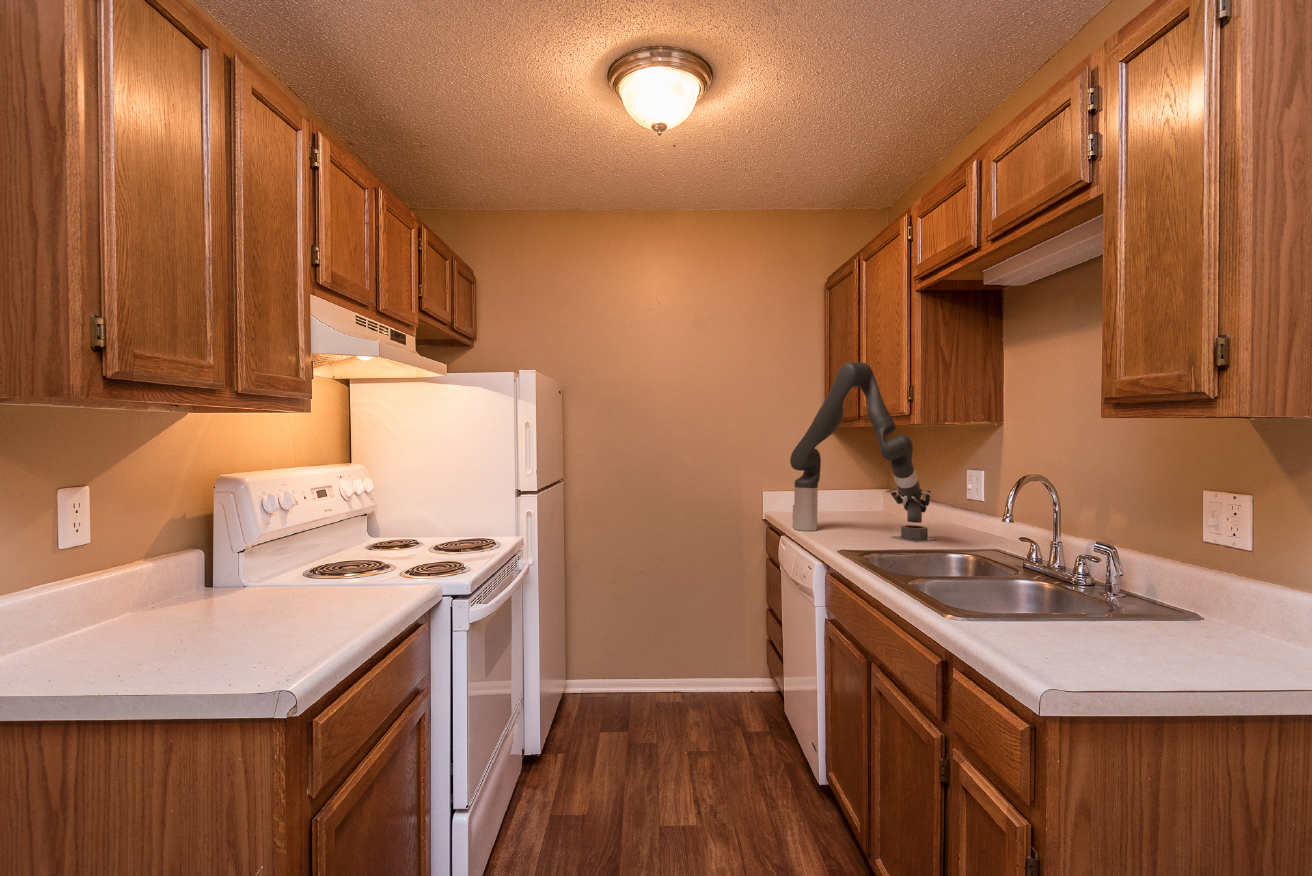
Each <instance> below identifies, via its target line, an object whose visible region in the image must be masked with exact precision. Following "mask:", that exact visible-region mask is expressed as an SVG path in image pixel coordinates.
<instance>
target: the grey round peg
mask: <svg viewBox="0 0 1312 876" xmlns="http://www.w3.org/2000/svg"><path fill="white" fill-rule="evenodd" d="M906 512H907V513H906V515H907V517H906V518H907V520H906V521H907V522H908V523H917V524H918V523H920V524H921V523H923V513H922V510H921V507H920V505H919V504H918V503H916V501H915V500H907V510H906Z"/></svg>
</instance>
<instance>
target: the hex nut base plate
mask: <svg viewBox="0 0 1312 876" xmlns="http://www.w3.org/2000/svg"><path fill="white" fill-rule="evenodd" d="M928 535H929V534H928V526H923V525H916V524H914V525H913V524H912V525H911V524H906V525H905V524H904V525H900V535H894V536H893V535H891V538H892V539H897V540H902V541H907V542H913V543H923V542H925V543H926V542H937V540H938V539H937V538H933V537H928Z"/></svg>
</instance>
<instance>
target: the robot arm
mask: <svg viewBox="0 0 1312 876" xmlns="http://www.w3.org/2000/svg"><path fill="white" fill-rule="evenodd" d="M853 388H860V390H861V392H862V393H863V395H864V396H865V400H866V412H867V417H868V420H869V422H870V424H871V426H872V428H873V430H874V431H875V435H876V437H877V439H878V443H879V445H878V446H879V449H880V454H881V456H882V458H883V459H884V460H886V461H888V462H890V467H891V470H892V473H893V478H894V482H895V484H896V486H897V487H896V488H897V489H896V488H892V490H891V494H890V495H891V496H892V498H893V499H894V501H895V502H896V504H898V505H901V504H902V506H903V508H904V510H905V511H907V500H915V501H916V503H918V504H919V505H920V507H921V510H922V514H923V513H925V512H926V511H927V509H928V508H927V507H929V505H930V502H931V495H932V494H931V493H932V492H931V490H927V491H924V490H923V489H921V485H920V481H919V479H918V475H917V472H916V470H915V468H914V464H913V460H912V459H913V452H914V450H913V449H914V448H913V447H914V446H913V442H912V439H911V438H910V437H909V436H908V435H905V434H899V435H896V436H894V437H892V438H889V439H887V437H888V436H890V435H892V433H894V432H895V431H896V429H897V425H896V423H895V421H894V419H893V417H892V415H891V413H890V412H889V410H888V408H887V406H886V404H885V402H884V399H883V397H882V394H881V391H880V387H879V385H878V383H877V379H876V377H875V374H874V372H873V369H872V368H871V366H870V365H869V364H868V363H866V362H862V361H861V362H860V361H858V362H857V361H849V362H845V363H844V364H843V365H842V366H841V367H840V369H839V370H838V371H837V374H836V376H835V379H834V381H833V384H832V386H831V388H830V390H829V392H828V394H827V396H826V397H825V399H824V401H823V403H822V405H821V407H820V408H819V410H818V411H817V413H816V415H815V416H814V418H813V420H812V422H811V424H810V426H809V427H808V429H807V431H806V432H805V434H804V435H803V436H802V438H801V439H800V441H799V442H798V443H797V444H796V446H795V447H794V449H793V450H792V452H791V455H790V460H789V463H790V465H791V468H792V469H793V470H795V471H801V472H802V471H803V473H802V475H801V476H800V477H799V478H796V479H794V492H793V493H794V498H793V499H794V500H793V501H794V502H793V503H794V504H793V505H792V529H794V530H797V531H805V532H811V531H812V532H813V531H818V510H819V509H818V505H819V503H818V501H819V500H818V498H819V495H818V491H819V489H818V488H819V482H820V478H821V466H822V465H821V462H822V461H821V460H822V459H821V453H820V451H819V450H818V448H817V447H818V445H820V444H821V443H822V442H824V441H825V440H826V439H828V438H829V437H830V436H831V435H833V433H835V431H836V430H837V428H838V426H839V425H840V424H841V422H842V420H843V419H844V418H843V417H844V410H845V409H844V401H845V399H846V397H847V396H848V394H849V392H850V391H851V390H852V389H853ZM902 497H903V498H902ZM923 497H924V498H923Z"/></svg>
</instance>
